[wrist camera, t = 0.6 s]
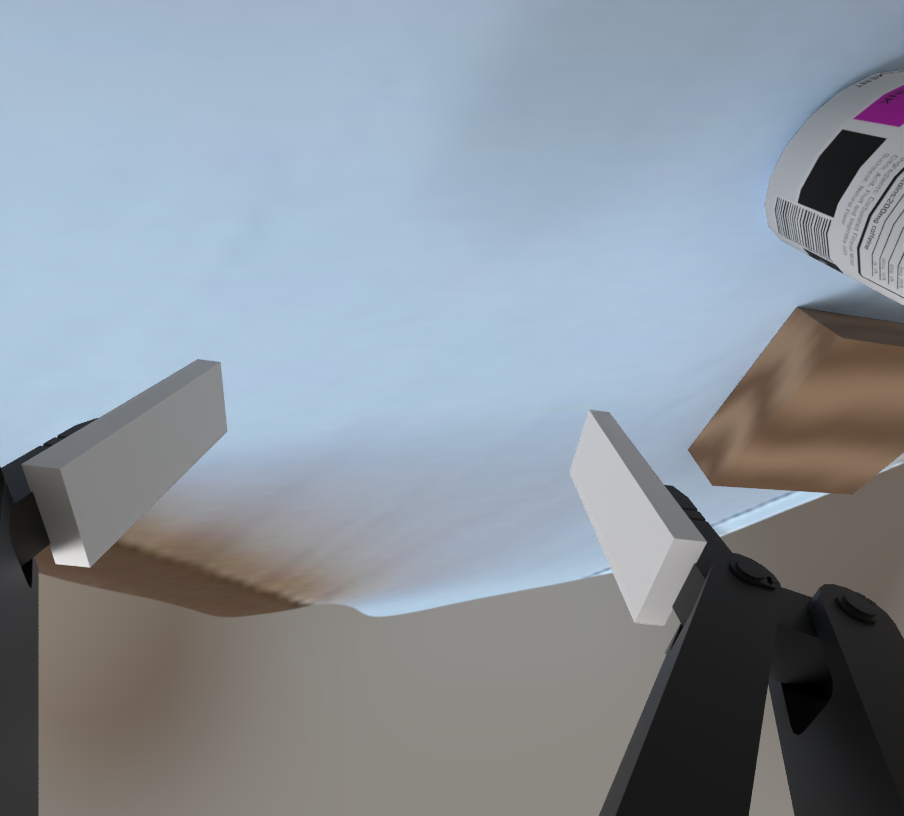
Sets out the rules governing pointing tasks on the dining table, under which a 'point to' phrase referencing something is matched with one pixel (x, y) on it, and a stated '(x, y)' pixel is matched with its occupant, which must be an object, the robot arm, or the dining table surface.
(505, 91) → the dining table surface
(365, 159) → the dining table surface
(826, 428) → the podium
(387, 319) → the dining table surface
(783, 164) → the supplement can
